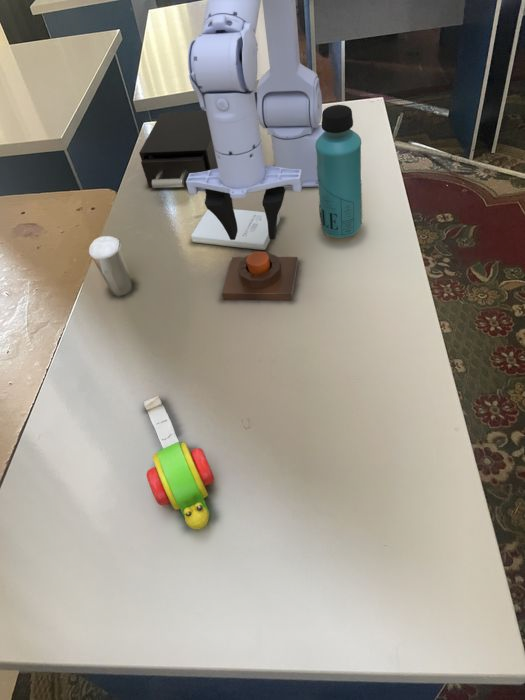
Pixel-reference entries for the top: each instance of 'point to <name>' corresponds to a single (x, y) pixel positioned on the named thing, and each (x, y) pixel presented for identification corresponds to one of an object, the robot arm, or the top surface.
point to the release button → (258, 262)
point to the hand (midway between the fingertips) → (253, 235)
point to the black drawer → (172, 169)
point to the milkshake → (111, 264)
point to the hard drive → (248, 234)
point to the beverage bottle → (339, 173)
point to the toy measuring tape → (178, 470)
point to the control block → (261, 280)
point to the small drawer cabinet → (181, 137)
